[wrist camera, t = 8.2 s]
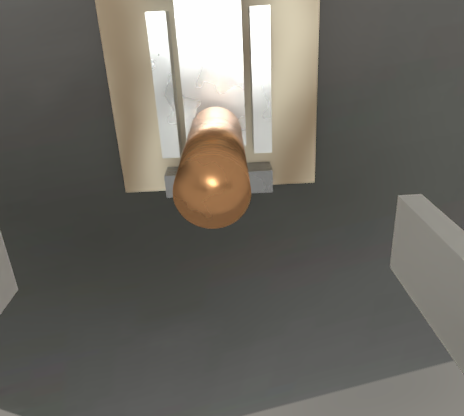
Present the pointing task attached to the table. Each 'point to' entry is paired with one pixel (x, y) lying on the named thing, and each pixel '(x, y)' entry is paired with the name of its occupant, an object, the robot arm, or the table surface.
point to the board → (143, 96)
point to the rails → (169, 103)
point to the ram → (212, 113)
